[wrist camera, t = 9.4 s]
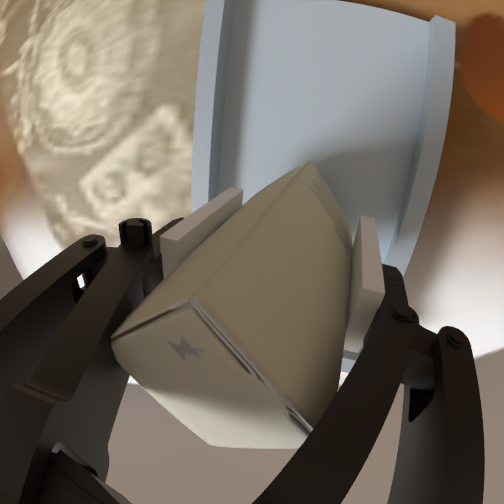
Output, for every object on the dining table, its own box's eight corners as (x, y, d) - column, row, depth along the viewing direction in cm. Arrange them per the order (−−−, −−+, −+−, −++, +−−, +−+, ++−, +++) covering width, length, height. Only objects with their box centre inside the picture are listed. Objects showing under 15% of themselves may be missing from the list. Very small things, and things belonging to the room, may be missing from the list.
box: (251, 194, 17) (87, 334, 7) (312, 157, 15) (181, 283, 4) (297, 265, 18) (207, 451, 8) (359, 236, 16) (331, 453, 5)
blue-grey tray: (233, 8, 15) (199, -14, 10) (436, 37, 11) (461, 17, 7) (213, 291, 27) (187, 325, 22) (362, 331, 23) (359, 375, 19)
